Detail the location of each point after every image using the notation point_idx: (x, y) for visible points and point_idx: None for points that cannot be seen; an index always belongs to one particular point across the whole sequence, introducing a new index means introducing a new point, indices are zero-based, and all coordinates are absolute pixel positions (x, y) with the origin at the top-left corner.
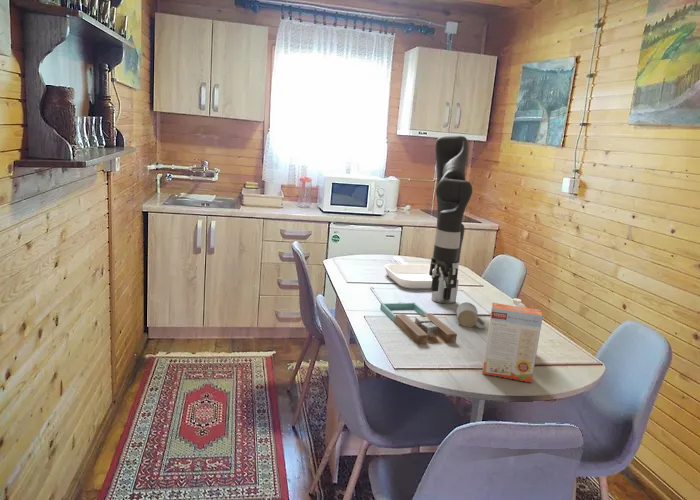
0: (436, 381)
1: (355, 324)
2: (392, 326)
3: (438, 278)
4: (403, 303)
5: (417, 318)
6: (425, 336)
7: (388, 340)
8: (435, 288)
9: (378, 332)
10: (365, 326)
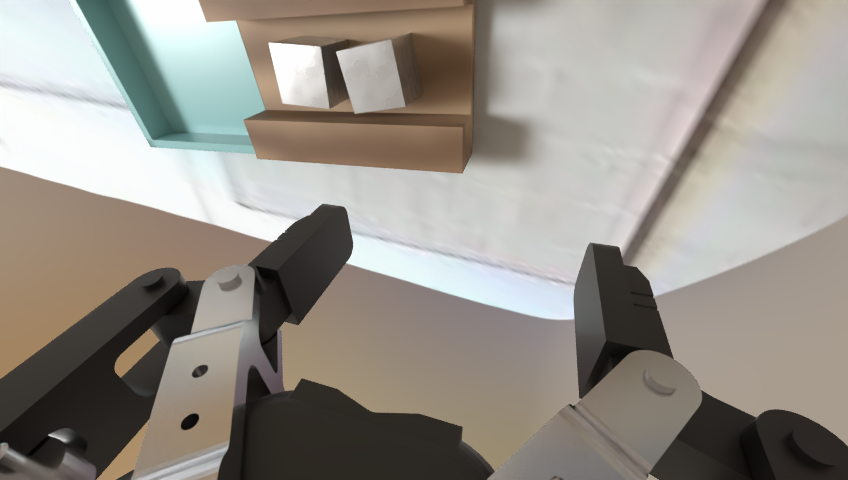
0: (773, 225)
1: None
2: None
3: (260, 290)
4: (100, 48)
5: (299, 103)
6: (463, 137)
7: (410, 218)
8: (336, 240)
9: (352, 218)
10: None
